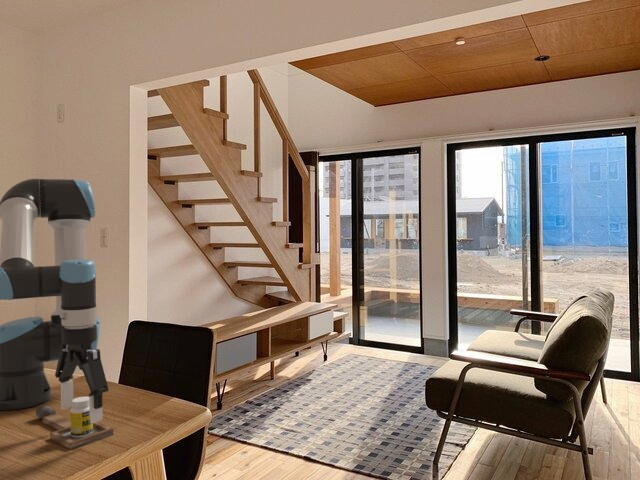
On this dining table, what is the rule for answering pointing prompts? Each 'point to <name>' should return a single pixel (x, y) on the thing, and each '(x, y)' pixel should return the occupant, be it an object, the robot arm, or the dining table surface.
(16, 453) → the dining table surface
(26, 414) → the dining table surface
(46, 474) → the dining table surface
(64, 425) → the wooden tray with handle
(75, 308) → the robot arm
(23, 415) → the dining table surface
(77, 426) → the supplement bottle
